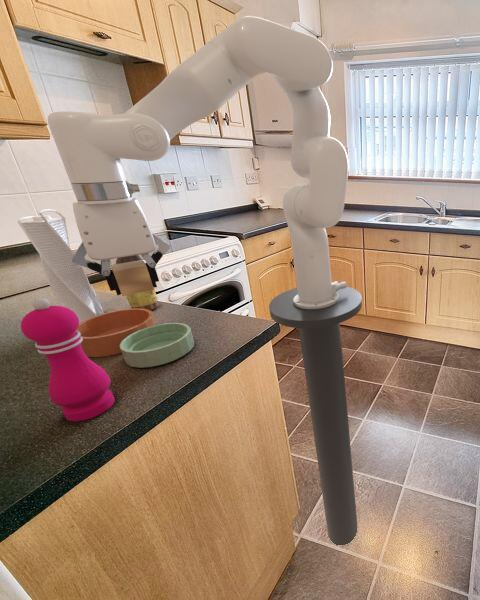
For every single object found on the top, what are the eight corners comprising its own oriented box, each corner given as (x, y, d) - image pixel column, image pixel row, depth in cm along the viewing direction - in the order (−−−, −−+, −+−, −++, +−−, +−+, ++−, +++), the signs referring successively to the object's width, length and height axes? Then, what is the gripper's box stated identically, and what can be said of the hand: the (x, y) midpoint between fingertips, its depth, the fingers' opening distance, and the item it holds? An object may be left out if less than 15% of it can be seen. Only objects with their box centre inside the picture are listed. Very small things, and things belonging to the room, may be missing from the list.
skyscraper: (113, 321, 85) (69, 207, 74) (71, 333, 79) (16, 212, 68) (103, 312, 90) (59, 204, 78) (63, 323, 84) (9, 209, 72)
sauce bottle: (161, 309, 91) (138, 236, 83) (133, 316, 88) (106, 241, 80) (157, 301, 96) (134, 232, 88) (130, 308, 92) (104, 236, 84)
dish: (187, 332, 79) (183, 317, 78) (201, 353, 71) (196, 337, 69) (123, 351, 72) (116, 335, 70) (130, 377, 64) (123, 359, 62)
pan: (152, 319, 86) (147, 303, 84) (163, 340, 76) (157, 322, 74) (77, 338, 77) (69, 321, 75) (79, 365, 67) (70, 346, 65)
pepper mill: (53, 415, 54) (-8, 303, 46) (104, 389, 60) (58, 286, 52) (75, 430, 52) (14, 313, 43) (127, 401, 57) (82, 293, 49)
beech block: (150, 283, 69) (142, 259, 67) (154, 289, 66) (146, 265, 64) (119, 289, 66) (110, 265, 64) (122, 296, 63) (112, 271, 61)
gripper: (157, 188, 66) (181, 274, 74) (36, 195, 56) (79, 295, 63) (164, 191, 61) (190, 283, 69) (33, 199, 51) (79, 307, 58)
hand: (136, 288), depth 66 cm, fingers closed on beech block, 5 cm apart
